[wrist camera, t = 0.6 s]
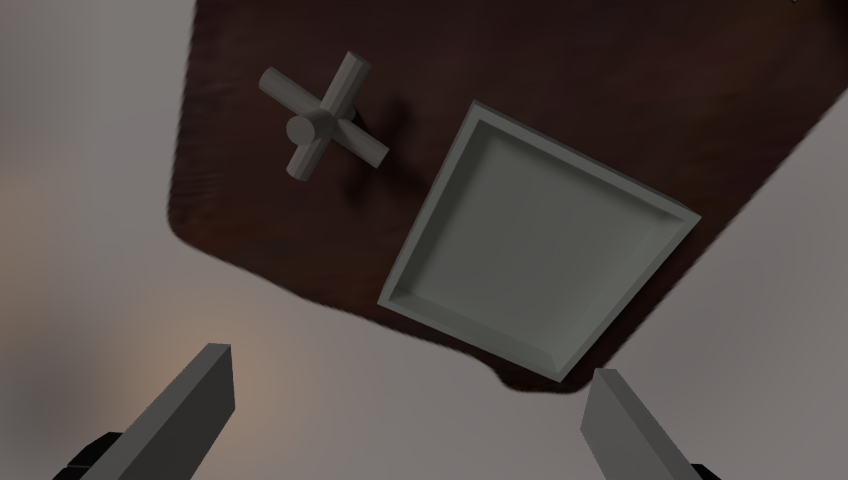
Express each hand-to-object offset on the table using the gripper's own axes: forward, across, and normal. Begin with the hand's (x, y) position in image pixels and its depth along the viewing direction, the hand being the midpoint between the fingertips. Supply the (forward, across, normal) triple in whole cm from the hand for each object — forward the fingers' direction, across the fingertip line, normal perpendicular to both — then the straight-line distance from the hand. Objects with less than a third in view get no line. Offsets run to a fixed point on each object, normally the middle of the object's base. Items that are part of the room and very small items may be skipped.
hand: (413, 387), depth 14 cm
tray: (+23, +10, -2) cm, 25 cm away
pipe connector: (+24, -7, +10) cm, 26 cm away
